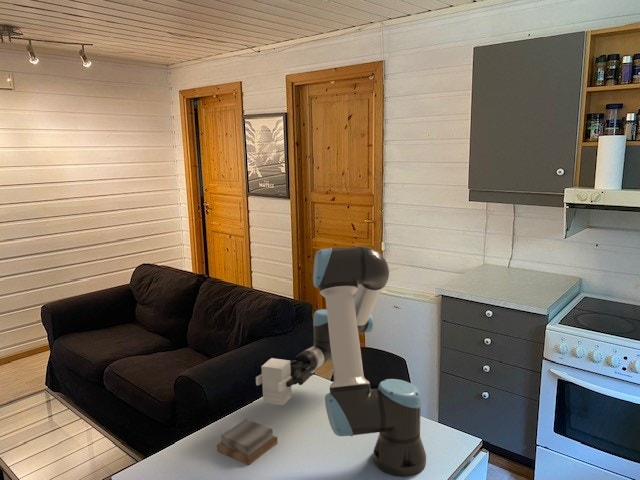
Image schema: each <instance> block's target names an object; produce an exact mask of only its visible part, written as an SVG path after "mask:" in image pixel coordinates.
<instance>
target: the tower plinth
mask: <svg viewBox="0 0 640 480" xmlns="http://www.w3.org/2000/svg"><path fill="white" fill-rule="evenodd" d="M273 430H274V429H273V428H271V427H269V426H266V425H263V424H261V423H257V422H255V421H252V420H250V419H247V418H245V419H244V420H242V421H241V422H239V423H237V424H236V425H234V426H233V427H230V429H228V430H226V432H224V433H222V434H221V435H220V436H221V437H220V438H221V439H220V440H221V442H219V443H218V444H216V449H217V450H216V451H217V452H219V453H221V454H224V455H225V456H227V457H231V458H233V459H234V460H237V461H239V462H242V463H244V464H246V465H248V466H250V465H251V464H253V463H254V462H255V461H256V460H258V459H259V458H260V457H262V456H263V455H264V454H266V453H267V452H268V451H270V450H271V449H273V447H275V446H276V445H277V444H278V437H277V436H275V435H273V432H274V431H273Z"/></svg>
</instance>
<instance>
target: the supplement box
mask: <svg viewBox="0 0 640 480" xmlns="http://www.w3.org/2000/svg"><path fill="white" fill-rule="evenodd" d="M290 361H291V360H289V359H288V360H287V359H286V360H283V359H281V358H274V357H271V358H270V359H268V360H267V361H266V362H265V363H264V364H262V365H261V368H260V369H261V374H262V383H261V385H262V399H263V400H262V401H263V403H264V404H271V405H277V406H284V405H285V404H286V403H287V402H288V401H289V400H290V399H291V397H292V396H293V395H292V392H293V391H292V386H290V387H288V388H286V389H284V390H283V391H281V392H278V383H280V382H281V381H283V380H285V379H286V378H288V377H290V376H292V375H291V374H292V373H291V368H290Z"/></svg>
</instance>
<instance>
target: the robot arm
mask: <svg viewBox="0 0 640 480" xmlns="http://www.w3.org/2000/svg"><path fill="white" fill-rule="evenodd" d="M312 273H313V274H312V282H313V287H314V288H316V289H318V290H319V294H320V295H321V296H322V297H323V298H325V305H326V309H324V308H321V309H318V310H315V311H314V313H313V319H312V320H313V321H312V322H313V323H312V325H313V345H312V346H310V347H309V348H307V349H305V350H303V351H302V352H300V353H298V354H297V355H296V356H295V358H294V359H293V360H290V368H291V374H292V373H293V374H292V375H291V376H290V377H288V378H286V379H285V380H283V381H281V382H280V383H278V392H281V391H283V390H284V389H286V388H288V387H290V386H291V387H292V386H294V385H297V384H298V385H299V386H302V385H303V384H305V382H307V381H308V380H309V379H310V378H311V377H312V376H314V375H316V369H318V368H319V367H321V366H322V365H324V364H326V363H327V362H330V361H331V363H332V372H333V373H332V375H333V381H332V383H331V384H330V385H329V392H328V393H327V394H325V395H324V402H325V410H326V414H327V419H328V422H329V425H330V428H331V430H332V432H333V433H334V434H335V436H337V437H353V436H358V435H359V436H360V435H361V436H362V435H367V434H375V433H376V434H377V433H378V436H377V439H376V442H375V445H374V448H373V452H372V453H373V454H372V455H373V463H374V465H375V466H376V467H377V468H378V469H379V470H380V471H382V472H384V473H386V474H388V475H391V476H396V477H407V476H408V477H410V476H413V475H416V474H417V475H418V474H419V473H420V472H422V471H423V470H424V469H425V468H426V465H427V454H426V450H425V446H424V444H423V441H422V437H421V413H422V410H421V407H422V402H421V392H420V390H419V388H418V387H416V386H415V385H414V384H413V383H410V382H409V381H406V380H404V379H403V380H402V379H397V378H387V379H384V380H382V381H380V383H379V384H378V388H371V383H370V381H369V380H367V379H366V378H365V376H364V375H365V374H364V369H363V367H364V366H363V359H362V352H361V345H360V344H361V343H360V336H359V334H361V335H362V334H365V333H366V334H367V333H370V332H372V331H373V329H374V319H373V318H374V317H373V315H372V313H373V310H374V308H375V305H376V302H377V300H378V297H379V295H380V293H381V290H382V289H383V288H384V287H386V285H387V282H388V280H389V278H390V269H389V265H388V263H387V260H386V259H385V257H384V256H383V255H382V254H381V253H380V252H379V251H378V250H376V249H374V248H372V247H369V246H363V245H362V246H350V247H349V246H348V247H329V248H321V249H319V250H317V252H316V253H315V255H314V261H313V271H312ZM282 360H287V359H286V358H283V359H282ZM255 385H256V386H260V385H262V373H260V374H259V375H257V376H255Z"/></svg>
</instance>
